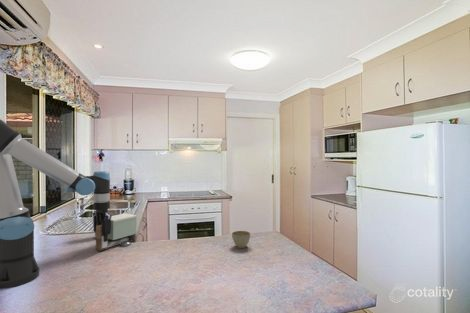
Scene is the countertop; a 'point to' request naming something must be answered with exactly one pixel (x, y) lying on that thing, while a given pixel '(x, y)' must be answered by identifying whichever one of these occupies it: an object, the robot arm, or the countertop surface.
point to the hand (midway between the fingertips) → (101, 246)
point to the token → (125, 243)
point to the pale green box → (123, 227)
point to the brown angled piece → (99, 240)
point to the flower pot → (241, 238)
